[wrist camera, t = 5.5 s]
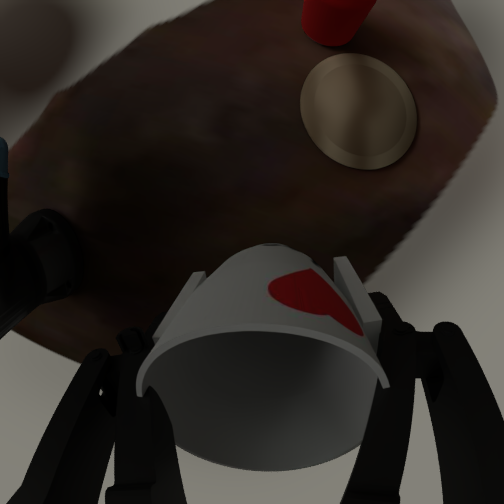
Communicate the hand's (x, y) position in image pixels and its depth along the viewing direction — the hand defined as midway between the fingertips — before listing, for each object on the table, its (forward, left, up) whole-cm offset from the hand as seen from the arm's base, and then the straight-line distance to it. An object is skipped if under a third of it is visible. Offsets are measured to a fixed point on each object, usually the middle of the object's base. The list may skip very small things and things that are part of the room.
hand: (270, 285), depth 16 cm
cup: (0, 0, -1) cm, 1 cm away
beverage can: (+9, +23, -17) cm, 30 cm away
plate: (+11, +12, -17) cm, 23 cm away
